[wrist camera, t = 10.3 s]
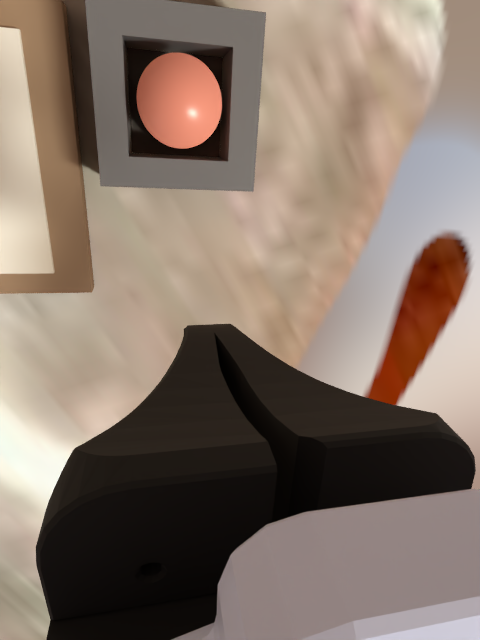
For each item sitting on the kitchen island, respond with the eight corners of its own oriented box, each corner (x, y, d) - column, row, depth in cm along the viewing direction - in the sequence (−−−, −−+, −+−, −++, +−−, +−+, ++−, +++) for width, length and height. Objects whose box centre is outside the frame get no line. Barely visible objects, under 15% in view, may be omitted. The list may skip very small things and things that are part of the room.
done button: (140, 143, 17) (138, 146, 15) (137, 59, 16) (134, 48, 13) (212, 147, 17) (220, 150, 15) (214, 66, 16) (223, 56, 14)
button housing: (107, 178, 18) (100, 186, 15) (94, 9, 15) (84, -10, 13) (241, 183, 19) (253, 191, 17) (250, 27, 16) (265, 12, 14)
